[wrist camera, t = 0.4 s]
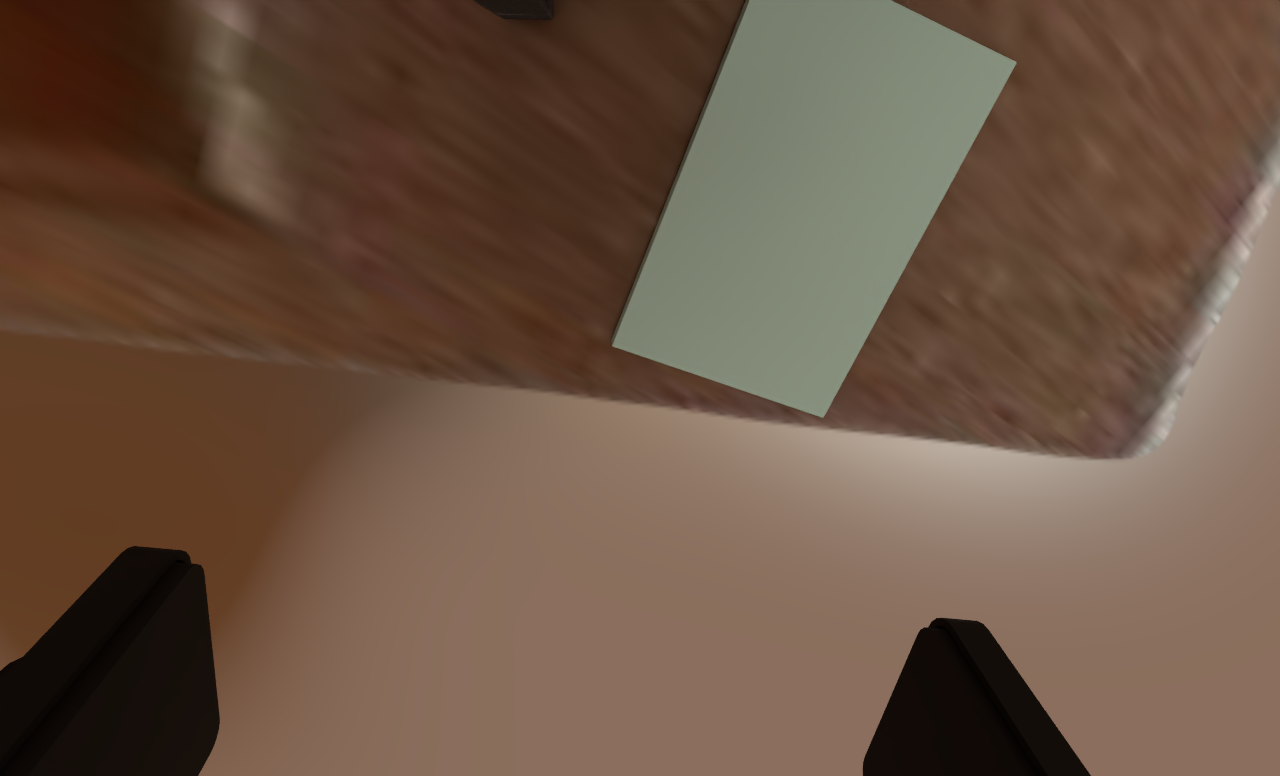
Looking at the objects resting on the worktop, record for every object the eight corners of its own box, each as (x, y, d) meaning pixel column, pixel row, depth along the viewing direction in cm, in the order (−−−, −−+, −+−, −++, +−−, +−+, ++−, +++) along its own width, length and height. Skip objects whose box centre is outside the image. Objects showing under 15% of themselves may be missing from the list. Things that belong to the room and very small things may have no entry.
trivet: (767, -55, 32) (772, -58, 31) (1005, 62, 34) (1016, 62, 33) (611, 339, 39) (612, 346, 38) (817, 410, 42) (823, 417, 41)
